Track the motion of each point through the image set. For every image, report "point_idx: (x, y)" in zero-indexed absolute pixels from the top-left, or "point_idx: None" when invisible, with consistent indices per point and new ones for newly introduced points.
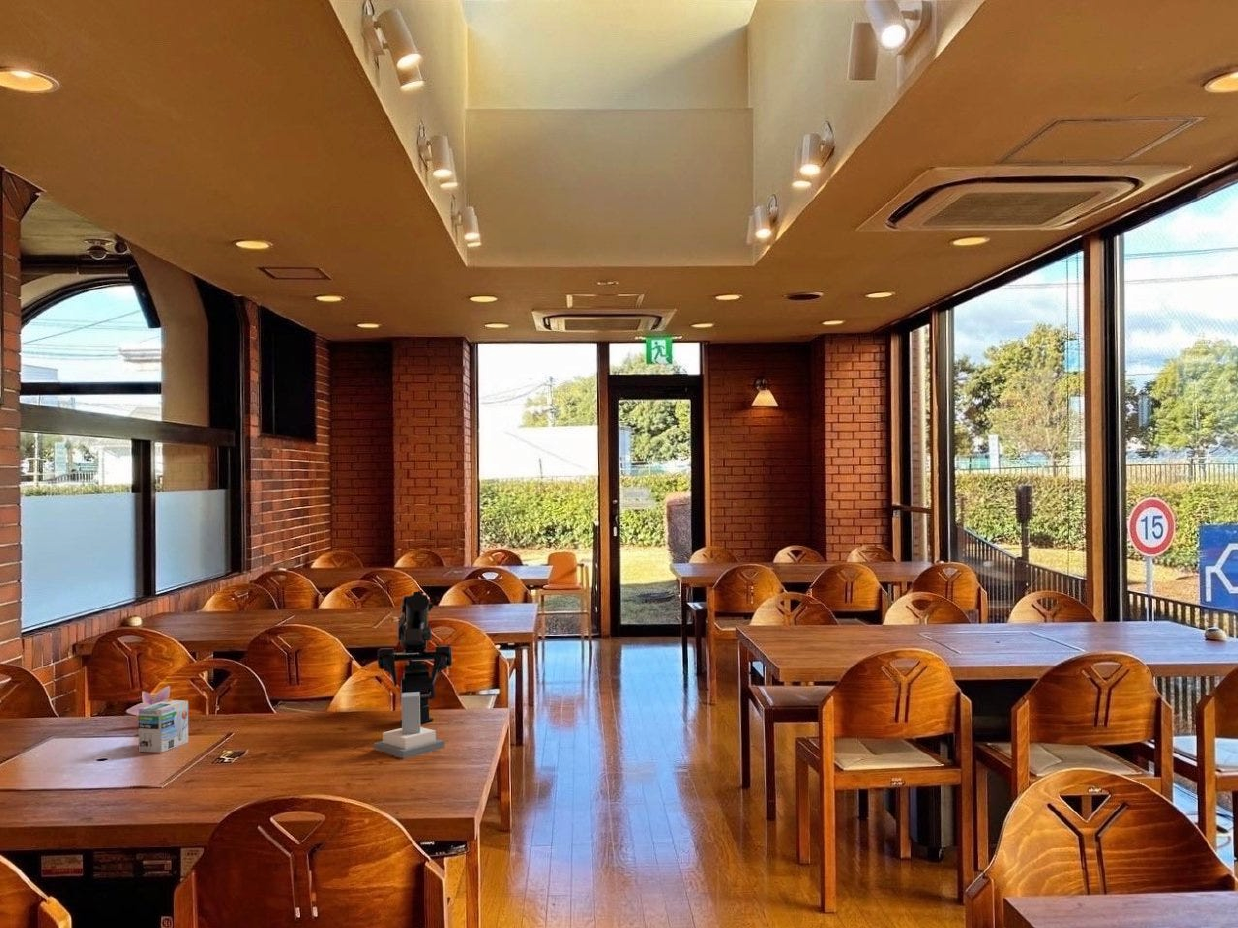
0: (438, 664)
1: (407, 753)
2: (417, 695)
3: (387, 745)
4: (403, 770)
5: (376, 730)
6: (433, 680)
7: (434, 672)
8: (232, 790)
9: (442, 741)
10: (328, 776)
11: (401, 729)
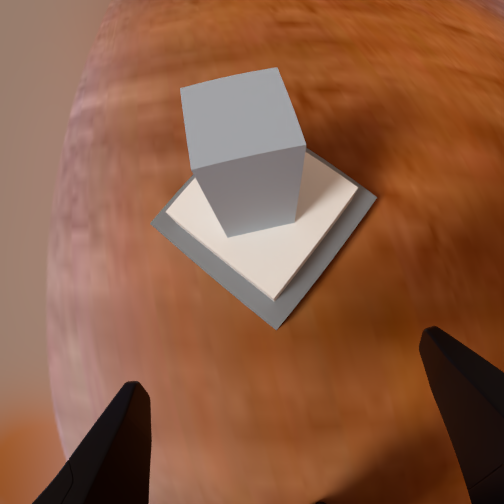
0: (37, 502)
1: None
2: (189, 91)
3: None
4: (230, 57)
5: (430, 435)
6: (117, 393)
7: (90, 448)
8: (463, 21)
9: (155, 217)
10: (371, 37)
11: (302, 227)
